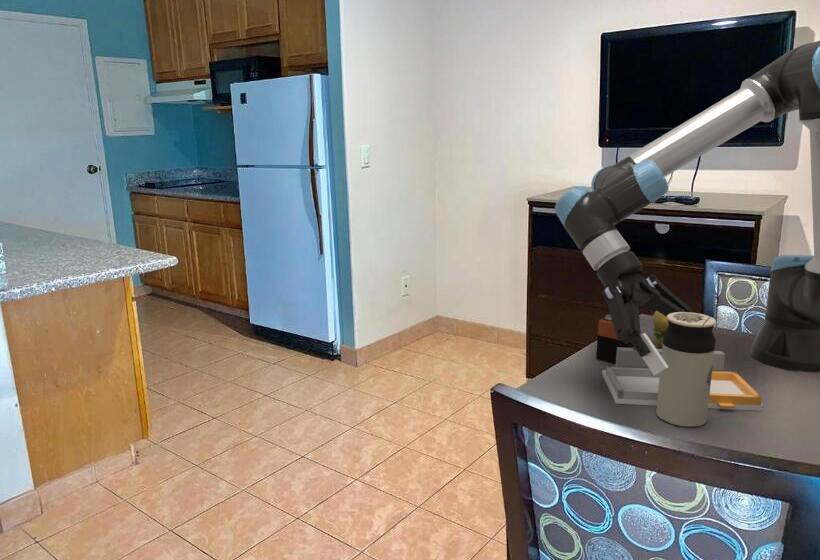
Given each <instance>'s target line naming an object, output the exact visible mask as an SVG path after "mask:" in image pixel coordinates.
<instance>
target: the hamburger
mask: <svg viewBox="0 0 820 560" xmlns="http://www.w3.org/2000/svg"><path fill="white" fill-rule="evenodd" d="M652 316H653V317H652V324H653V326H654V328H653V329H652V330H653V331H654V332H653V340H652V341H653V342H652V343H653V345H654V346H655V347H657V348H658V349H662V345H663V335H664V332H665V331H666V329H667V328H668V327H669V323H668V319H667V317H666V316H664V315H663V314H661V313H660V312H658V311H657V310H655V312H654V313H653V315H652Z"/></svg>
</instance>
